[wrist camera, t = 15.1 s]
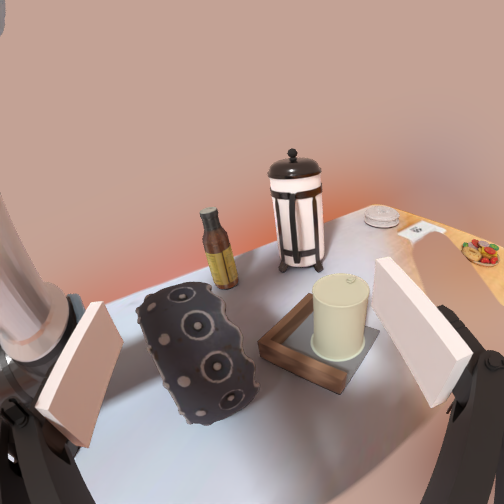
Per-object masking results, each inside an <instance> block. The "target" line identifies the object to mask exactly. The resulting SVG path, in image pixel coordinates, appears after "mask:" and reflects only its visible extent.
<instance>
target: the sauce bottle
mask: <svg viewBox="0 0 504 504" xmlns="http://www.w3.org/2000/svg"><path fill="white" fill-rule="evenodd" d="M200 217H201V219H202V221H203V225H204V235H203V245H204V248H205V253H206V257H207V260H208V264H209V267H210V271H211V274H212V277H213V280H214V283H215V285H216V286H217V287H218V288H219V289H229V288H232V287H234V286H235V285H236V284H237V283H238V274H237V270H236V266H235V262H234V257H233V253H232V249H231V245H230V243H229V239H228V235H227V232H226V231H225V230H224V229H223V228H222V227H221V225H220V223H219V218H218V211H217V208H216V207H209V208H205V209H203V210H201V211H200Z"/></svg>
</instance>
